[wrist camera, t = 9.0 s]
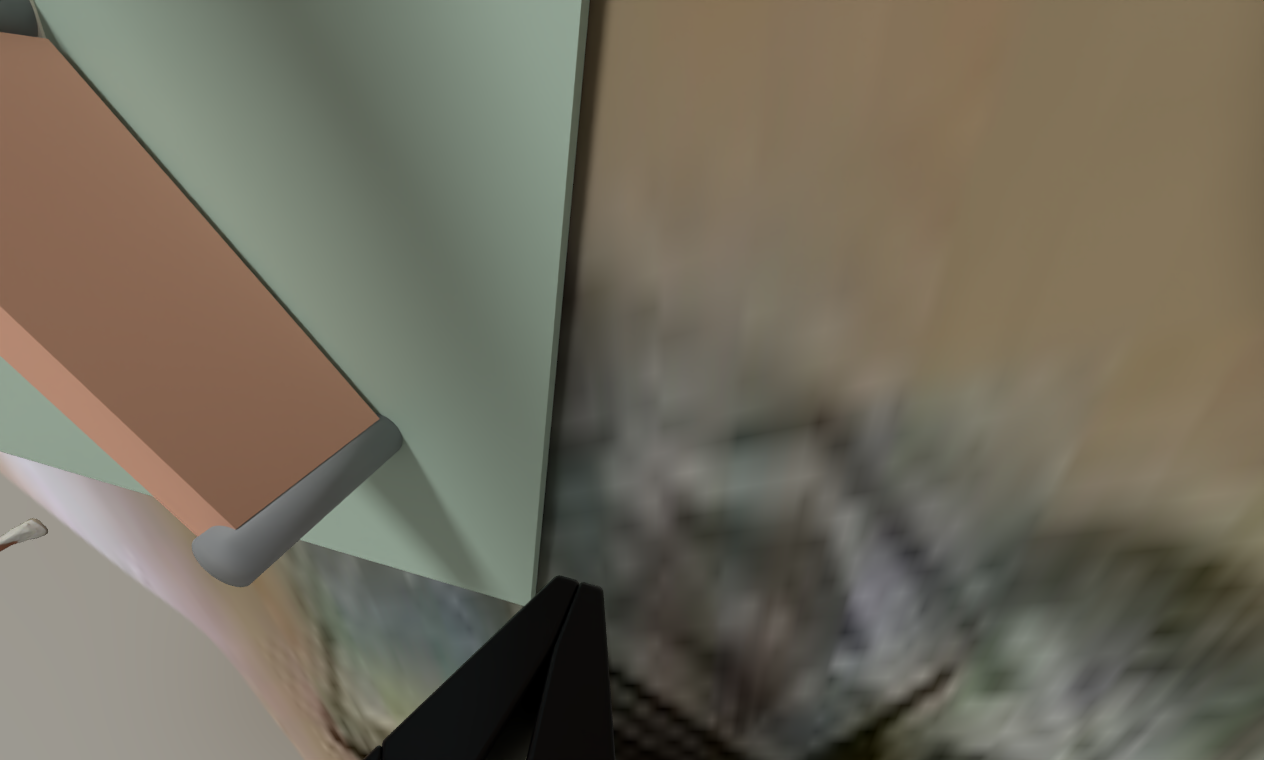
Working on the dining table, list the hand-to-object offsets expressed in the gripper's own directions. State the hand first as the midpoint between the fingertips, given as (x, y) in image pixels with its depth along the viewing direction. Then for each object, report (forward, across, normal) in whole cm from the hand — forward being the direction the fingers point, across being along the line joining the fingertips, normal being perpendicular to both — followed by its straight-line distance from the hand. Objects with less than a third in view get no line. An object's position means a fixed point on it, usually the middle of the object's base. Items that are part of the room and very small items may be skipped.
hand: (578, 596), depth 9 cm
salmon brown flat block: (+5, +11, -2) cm, 12 cm away
